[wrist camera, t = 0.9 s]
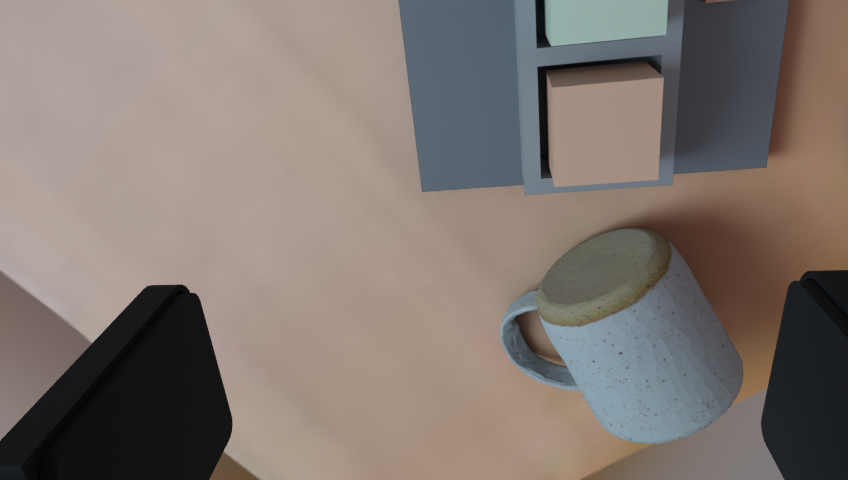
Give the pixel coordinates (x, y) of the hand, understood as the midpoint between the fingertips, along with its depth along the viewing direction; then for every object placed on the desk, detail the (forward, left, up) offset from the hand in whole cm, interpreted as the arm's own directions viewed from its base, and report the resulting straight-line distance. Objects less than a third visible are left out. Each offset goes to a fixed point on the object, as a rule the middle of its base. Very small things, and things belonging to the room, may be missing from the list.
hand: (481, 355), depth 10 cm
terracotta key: (+2, +5, -19) cm, 19 cm away
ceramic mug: (+13, +5, -22) cm, 26 cm away
